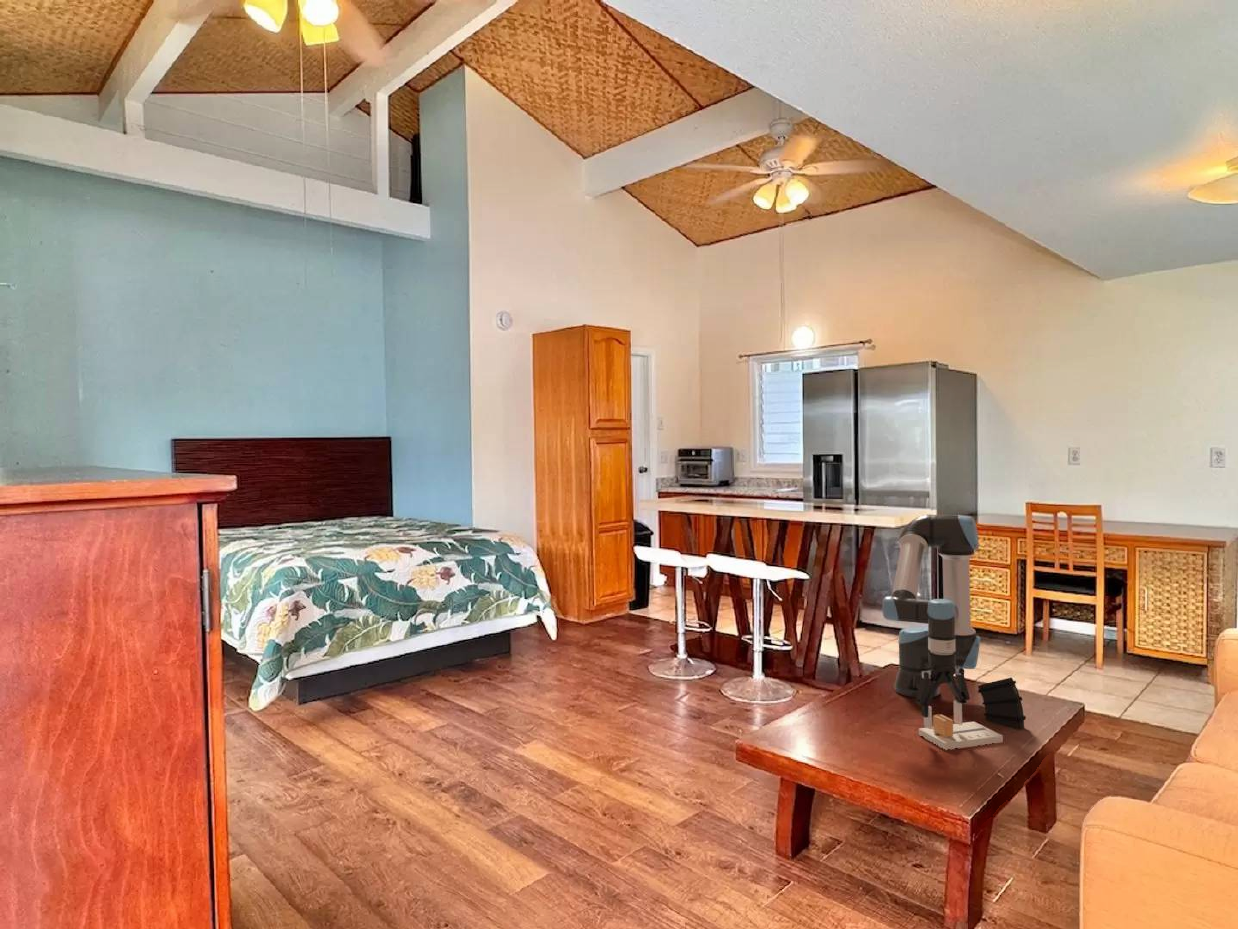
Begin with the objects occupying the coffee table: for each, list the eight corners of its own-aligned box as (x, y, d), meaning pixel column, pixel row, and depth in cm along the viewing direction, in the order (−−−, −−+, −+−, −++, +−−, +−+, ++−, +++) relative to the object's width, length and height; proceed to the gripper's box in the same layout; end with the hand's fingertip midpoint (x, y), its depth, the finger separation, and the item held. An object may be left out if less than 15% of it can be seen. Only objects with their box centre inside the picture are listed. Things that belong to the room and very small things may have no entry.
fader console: (918, 735, 223) (918, 728, 223) (974, 727, 228) (974, 721, 228) (945, 750, 212) (945, 743, 212) (1002, 742, 216) (1002, 735, 216)
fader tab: (933, 731, 221) (932, 714, 221) (941, 730, 221) (941, 713, 221) (944, 737, 216) (944, 720, 215) (953, 736, 216) (953, 719, 216)
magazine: (1030, 728, 223) (1008, 679, 228) (991, 735, 232) (970, 688, 237) (1036, 725, 225) (1013, 676, 230) (997, 732, 235) (976, 685, 240)
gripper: (917, 658, 212) (918, 734, 212) (982, 651, 217) (983, 725, 217) (901, 651, 219) (902, 725, 219) (964, 645, 224) (966, 717, 225)
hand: (943, 725), depth 218 cm, fingers open, 10 cm apart
